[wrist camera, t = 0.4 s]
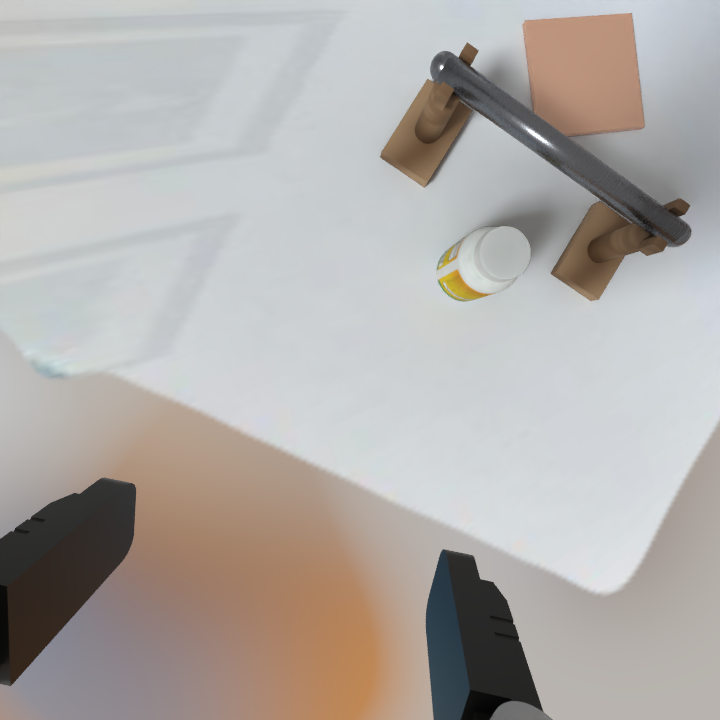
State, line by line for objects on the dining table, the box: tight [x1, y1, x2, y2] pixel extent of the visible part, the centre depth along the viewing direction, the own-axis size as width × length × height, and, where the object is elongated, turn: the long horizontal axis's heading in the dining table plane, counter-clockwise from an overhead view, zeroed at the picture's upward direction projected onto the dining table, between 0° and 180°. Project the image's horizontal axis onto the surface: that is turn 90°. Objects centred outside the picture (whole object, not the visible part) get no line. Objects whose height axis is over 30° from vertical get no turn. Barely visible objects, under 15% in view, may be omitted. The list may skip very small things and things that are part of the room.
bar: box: [430, 51, 691, 247], centre depth 32 cm, size 24×2×2 cm, turn 58°
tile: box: [523, 13, 645, 136], centre depth 41 cm, size 11×11×1 cm
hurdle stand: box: [380, 43, 690, 301], centre depth 36 cm, size 25×8×10 cm, turn 58°
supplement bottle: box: [436, 226, 531, 302], centre depth 36 cm, size 5×5×10 cm
